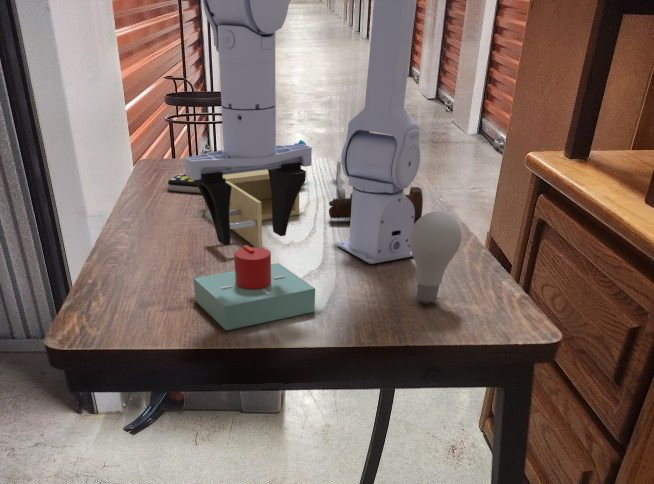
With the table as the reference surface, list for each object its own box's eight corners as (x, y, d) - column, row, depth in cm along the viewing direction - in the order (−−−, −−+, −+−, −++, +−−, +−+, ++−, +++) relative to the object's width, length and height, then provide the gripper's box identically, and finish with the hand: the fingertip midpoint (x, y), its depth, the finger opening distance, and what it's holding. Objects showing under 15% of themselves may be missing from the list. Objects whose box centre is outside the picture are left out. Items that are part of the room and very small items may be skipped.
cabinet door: (223, 255, 97) (220, 207, 93) (194, 230, 107) (190, 185, 102) (262, 249, 99) (261, 201, 95) (230, 225, 109) (228, 181, 104)
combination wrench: (346, 188, 115) (343, 159, 130) (338, 188, 115) (336, 159, 130) (344, 211, 117) (342, 179, 133) (337, 210, 117) (335, 179, 133)
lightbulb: (444, 293, 87) (458, 204, 80) (455, 312, 82) (471, 219, 75) (397, 293, 86) (408, 205, 80) (406, 312, 82) (418, 220, 75)
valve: (277, 285, 81) (277, 253, 78) (244, 291, 79) (243, 259, 77) (261, 273, 84) (261, 242, 81) (229, 279, 82) (228, 247, 80)
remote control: (228, 196, 123) (227, 185, 122) (166, 191, 126) (164, 180, 125) (239, 188, 128) (239, 177, 126) (179, 183, 131) (178, 172, 129)
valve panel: (314, 311, 82) (315, 287, 80) (226, 330, 78) (224, 305, 76) (278, 284, 89) (278, 261, 87) (195, 301, 85) (193, 276, 83)
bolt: (328, 230, 113) (417, 227, 112) (330, 223, 108) (422, 220, 107) (328, 194, 112) (417, 191, 111) (329, 185, 107) (423, 181, 106)
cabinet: (299, 214, 114) (299, 169, 110) (226, 225, 109) (224, 179, 105) (274, 200, 121) (274, 158, 116) (205, 210, 116) (202, 166, 112)
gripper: (291, 95, 75) (290, 220, 83) (170, 105, 70) (182, 237, 78) (322, 104, 70) (318, 236, 79) (194, 116, 65) (204, 255, 73)
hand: (252, 238), depth 78 cm, fingers open, 7 cm apart
